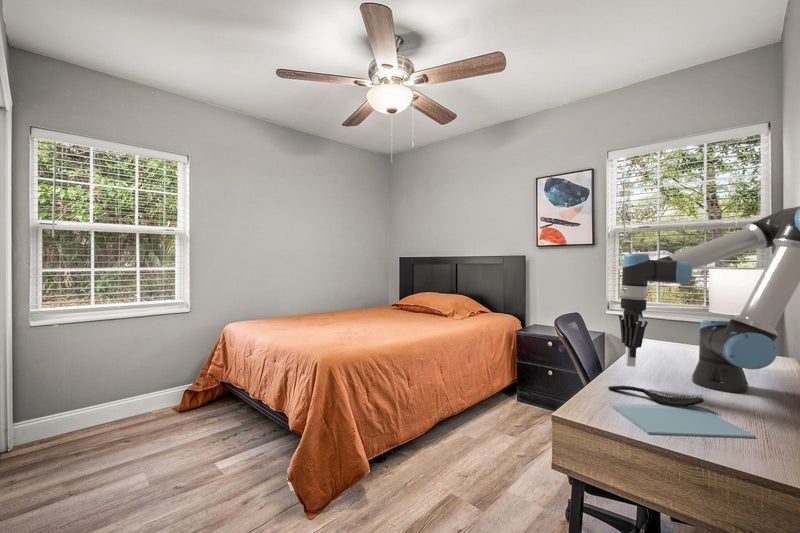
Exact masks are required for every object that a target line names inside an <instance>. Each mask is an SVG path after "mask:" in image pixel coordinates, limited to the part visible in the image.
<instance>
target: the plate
mask: <svg viewBox="0 0 800 533" xmlns="http://www.w3.org/2000/svg"><path fill="white" fill-rule="evenodd" d="M606 404H607V406H609V407H611V408H612V409H614V410H615V411H616V412H618V413H619V414H620V415H622V416H623V417H625V419H627V420H628V421H630V422H631V423H633V424H634V425H635V426H636V427H638V428H639V429H640V430H642V431H644V432H645V433H646V434H647V435H666V436H667V435H668V436H692V437H693V436H695V437H723V438H747V439H748V438H749V439H751V438H752V439H756V435H754V434H752V433H750V432H748V431H746V430H745V429H743V428H741V427H739V426H737V425H735V424H733V423H731V422H729V421H727V420H725V419H724V418H721V417H719V415H716V414H714V413H712V412H709V411H708V410H706V409H703V408H700V407H698V406H696V405H691V406H685V407H683V406H670V405H665V404H642V403H641V404H640V403H614V402H612V403H607V402H606Z"/></svg>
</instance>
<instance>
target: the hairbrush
mask: <svg viewBox="0 0 800 533" xmlns="http://www.w3.org/2000/svg"><path fill="white" fill-rule="evenodd" d="M609 389H610V390H611V391H633V392H639V393H643V394H644V395H646V396H647V397H649V398H651V399H652V400H653V401H656V402H657V403H660V404H661V405H670V406H683V407H685V406H696V405H699V404H702V403H704V401H705V400H704V398H703V397H702V394H697V395H696V397H695V395H694V394H692V395H688V394H687V395H685V394H684V395H683V394H680V395H679V394H677V393H675V394H674V395H673V394H671V393H667V392H661V391H656V392H652V390H651V389H648V390H647V389H645V388H641V387H636V386H630V385H613V386H608V390H609ZM610 390H609V391H610ZM664 393H665V395H664Z"/></svg>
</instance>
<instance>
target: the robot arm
mask: <svg viewBox="0 0 800 533" xmlns="http://www.w3.org/2000/svg"><path fill="white" fill-rule="evenodd" d="M774 246H775V249H774V250H773V253H772V255H771V257H770V258H769V260H768V262H767V263H766V265H765V267H764V269H763V271H762V273H761V275H760V276H759V279H758V281H757V282H756V285H755V287H754V288H753V290H752V291H751V293H750V296H749V297H748V299H747V301H746V303H745V304H744V306H743V308H742V310H741V312H740V314H739V315H737V316H734V317H731V318H730V320H729V321H727V320H711V319H710V320H708V319H707V320H706V319H705V320H701V322H700V325H699V328H698V329H699V342H698V343H699V347H698V349H699V351H698V362H697V364H696V366H695V369H694V372H693V373H692V375H691V376H692V379H691V382H693V383H694V384H696V385H699V386H701V387H704V388H707V389H711V390H717V391H721V392H726V393H728V392H729V393H740V394H741V393H748V392H749V383H748V380H747V377H746V374H745V372H744V369H745V370H759V369H764V368H766V367H768V366H770V365H771V364H772V363H773V362H774V361H775V359H776V358H777V355H778V349H777V347H776V344H775V342H776V339H778V336H779V333H778V332H777V330H776V326H777V325H778V323H779V321H780V319H781V317H782V315H783V313H784V312H785V309H786V307H787V306H788V304H789V303H790V301H791V299H792V297H793V295H794V293H795V292H796V290H797V288H798V287H799V284H800V206H795V207H794V206H793V207H789V208H784V209H781V210H778V211H776V212H774V213H772V214H769V215H768V216H765V217H762V218H760V219H758V220H755V221H753V222H750V223H747V224H746V225H745V227H744V228H742V229H740V230H737V231H734V232H731V233H728V234H726V235H722V236H720V237H717V238H715V239H712V240H708V241H706V242H703V243H700V244H698V245H695V246H691V247H688V248H685V249H683V250H681V251H677V252H675V253H672V254H669V255H667V256H664V257H660V258H659V259H650V256H649V254H648V253H626V254H624V255H623V263H622V266H621V267H622V276H621V288H620V290H621V293H620V295H621V298H620V308H621V309H623V312H622V313H623V314H622V315H621V314H620V315H618V320H619V323H620V325H619V326H620V336H621V338H620V339H621V343H622V344H624V346H625V355H624V356H625V357H624V365H625V366H626V367H634V368H635V367H636V363H637V362H636V358H637V349H638V348H639V349H640V348H642V345H643V341H644V340H643V339H644V335H645V331H646V327H647V325H648V321H647V320H644V319H643V317H644V316H643V312H644V311H646V310H647V300H646V299H647V297H648V283H649V282H650V283H654V282H655V283H663V284H664V283H666V284H669V283H671V284H676V285H677V284H688V283H689V282H690V281H691V279H692V277H693V270H695V269H699V268H702V267H705V266H707V265H711V264H713V263H717V262H720V261H723V260H725V259H728V258H731V257H734V256H738V255H740V254H743V253H746V252H749V251H752V250H755V249H758V250H765V249H768V248H771V247H774Z"/></svg>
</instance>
